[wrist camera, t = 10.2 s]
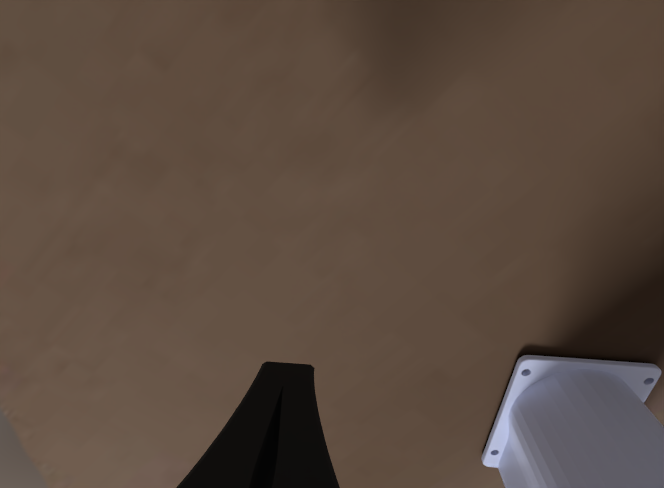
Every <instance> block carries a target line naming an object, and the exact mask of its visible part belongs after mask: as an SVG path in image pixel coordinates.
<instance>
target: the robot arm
mask: <svg viewBox="0 0 664 488" xmlns="http://www.w3.org/2000/svg"><path fill="white" fill-rule="evenodd" d="M525 369H527V370H525ZM523 370H525V371H523ZM661 373H662V372H661V369H660V368H659V367H658V366H656V365H655V364H650V363H636V362H622V361H607V360H593V359H579V358H565V357H551V356H537V355H524V356H522V357H520V358H519V359H518V361H517V363H516V366H515V369H514V371H513V374H512V377H511V380H510V382H509V385H508V388H507V390H506V393H505V396H504V398H503V401H502V404H501V406H500V409H499V412H498V415H497V417H496V420H495V423H494V425H493V428H492V431H491V433H490V436H489V439H488V441H487V444H486V447H485V449H484V452H483V455H482V462H483V464H484V465H485V466H487V467H498V469H499V472H500V474H501V477H502V480H503V482H504V485H505V488H664V426H663V425H662V424H661V423H660V422H659V421H658V419H657V418H656V417H655V416H654V415H653V414H652V412H651V411H650V410H649V409H648V408H647V407H646V405H645V404H644V402H645V400H646V399H647V397H648V395H649V394H650V392H651V390H652V389H653V387H654V386H655V384H656V382H657V381H658V379H659V377H660V376H661ZM177 488H340V487H339V484H338V481H337V478H336V475H335V472H334V469H333V466H332V463H331V459H330V456H329V453H328V449H327V446H326V442H325V438H324V434H323V430H322V426H321V422H320V418H319V413H318V408H317V401H316V395H315V387H314V368H313V367H312V366H311V365H307V364H293V363H279V362H265V363H264V364H262V366H261V368H260V370H259V372H258V374H257V376H256V378H255V380H254V381H253V383H252V385H251V387H250V388H249V390H248V392H247V393H246V395H245V397H244V398H243V400H242V401H241V403H240V404H239V406H238V407H237V409H236V410H235V412H234V413H233V415H232V416H231V418H230V419H229V421H228V422H227V424H226V425H225V427H224V428H223V429H222V431H221V432H220V434H219V435H218V436H217V438H216V439H215V440H214V442H213V443H212V444H211V445H210V447H209V448H208V449H207V451H206V452H205V453H204V455H203V456H202V457H201V459H200V460H199V461H198V462H197V464H196V465H195V466H194V467H193V469H192V470H191V471H190V472H189V474H188V475H187V476H186V477H185V478H184V479H183V481H182V482H181V483H180V484H179V485H178V486H177Z"/></svg>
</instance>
